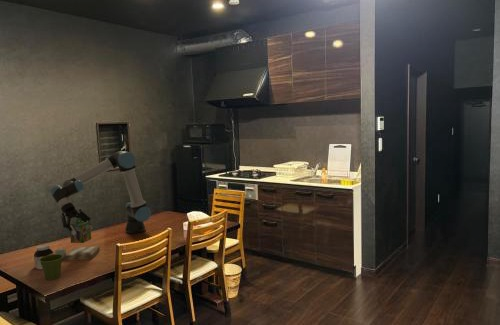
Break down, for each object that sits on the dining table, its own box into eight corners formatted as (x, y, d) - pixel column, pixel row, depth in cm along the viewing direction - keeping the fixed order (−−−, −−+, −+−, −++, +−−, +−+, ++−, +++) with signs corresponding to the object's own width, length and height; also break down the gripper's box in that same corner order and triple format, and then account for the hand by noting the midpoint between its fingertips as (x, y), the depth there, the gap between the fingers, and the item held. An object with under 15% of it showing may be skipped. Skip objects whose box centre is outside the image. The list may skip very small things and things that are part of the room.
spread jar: (50, 261, 234) (48, 243, 233) (58, 265, 227) (57, 246, 226) (29, 267, 225) (27, 248, 224) (37, 271, 218) (35, 252, 216)
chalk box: (83, 243, 236) (81, 220, 235) (70, 243, 238) (68, 220, 237) (92, 239, 245) (90, 216, 244) (79, 238, 247) (77, 216, 246)
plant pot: (35, 280, 205) (33, 260, 203) (54, 272, 216) (52, 253, 214) (51, 283, 200) (50, 262, 199) (69, 274, 211) (68, 255, 210)
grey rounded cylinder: (68, 256, 241) (67, 247, 241) (64, 260, 235) (63, 250, 235) (58, 257, 241) (57, 248, 240) (54, 260, 235) (53, 251, 234)
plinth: (99, 250, 252) (99, 245, 251) (91, 258, 236) (91, 253, 235) (74, 252, 250) (74, 247, 250) (65, 260, 234) (64, 255, 234)
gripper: (80, 206, 258) (96, 230, 252) (47, 213, 238) (64, 240, 231) (84, 199, 255) (101, 224, 248) (51, 206, 235) (68, 233, 228)
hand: (83, 232), depth 240 cm, fingers closed on chalk box, 11 cm apart
